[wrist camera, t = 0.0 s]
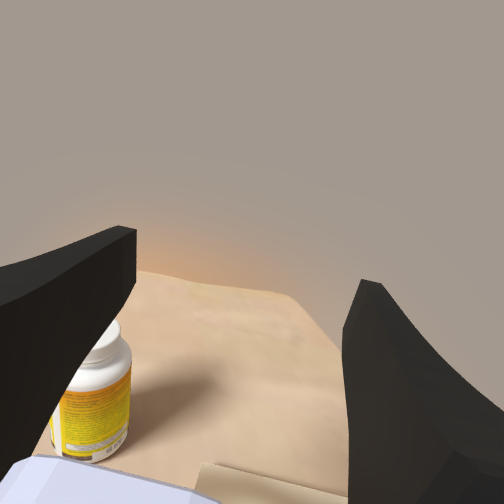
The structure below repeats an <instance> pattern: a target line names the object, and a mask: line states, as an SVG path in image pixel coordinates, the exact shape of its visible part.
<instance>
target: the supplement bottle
mask: <svg viewBox="0 0 504 504" xmlns="http://www.w3.org/2000/svg"><path fill="white" fill-rule="evenodd" d="M131 365H132V355H131V350H130V347H129V345H128V344H127V342H126V341H125V340H124V339H123V338H121V327H120V324H119V323H118V321H117V320H116V319H114V320H113V321H112V323H111V324H110V326H109V327H108V328H107V330H106V331H105V332H104V334H103V335H102V336H101V338H100V339H99V340H98V342H97V343H96V345H95V346H94V347H93V349H92V350H91V351H90V353H89V354H88V355H87V357H86V358H85V360H84V361H83V363H82V364H81V366H80V367H79V369H78V370H77V372H76V374H75V375H74V377H73V379H72V381H71V382H70V384H69V386H68V387H67V389H66V391H65V393H64V394H63V396H62V398H61V400H60V402H59V403H58V405H57V407H56V409H55V411H54V413H53V414H52V416H51V418H50V420H49V426H50V436H51V443H52V446H53V448H54V450H55V452H56V453H57V454H58V455H59V456H62V457H67V458H71V459H75V460H79V461H83V462H87V463H94V462H98V461H100V460H103V459H105V458H107V457H108V456H110V455H111V454H113V453H114V452H115V451H116V450H117V449H118V448H119V447H120V446H121V445H122V443H123V442H124V440H125V438H126V436H127V433H128V428H129V411H130V389H131Z"/></svg>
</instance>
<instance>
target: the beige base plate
mask: <svg viewBox="0 0 504 504" xmlns="http://www.w3.org/2000/svg"><path fill="white" fill-rule="evenodd" d="M195 491H198V492H200V493H203V494H205V495H208V496H210V497H212V498H215V499H217V500H219V501H221V502H222V503H223V504H348V498H347V497H343V496H339V495H335V494H331V493H327V492H323V491H319V490H315V489H311V488H307V487H303V486H299V485H295V484H291V483H287V482H283V481H279V480H275V479H271V478H267V477H263V476H259V475H255V474H251V473H247V472H243V471H239V470H235V469H231V468H227V467H223V466H219V465H215V464H211V463H207V462H202V465H201V469H200V472H199V476H198V479H197V483H196V487H195Z"/></svg>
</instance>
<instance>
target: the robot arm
mask: <svg viewBox="0 0 504 504" xmlns="http://www.w3.org/2000/svg"><path fill="white" fill-rule="evenodd" d="M136 241H137V230H136V229H132V228H128V227H123V226H115V227H112V228H109V229H106V230H104V231H101V232H99V233H96V234H94V235H91V236H89V237H86V238H84V239H81V240H79V241H77V242H74V243H72V244H69V245H67V246H64V247H62V248H59V249H56V250H53V251H50V252H48V253H45V254H42V255H39V256H36V257H33V258H30V259H27V260H24V261H20V262H17V263H14V264H10V265H6V266H2V267H0V504H223V503H222V502H221V501H219V500H217V499H215V498H212V497H210V496H208V495H205V494H203V493H200V492H198V491H195V490H193V489H189V488H185V487H181V486H177V485H173V484H170V483H166V482H162V481H158V480H154V479H150V478H146V477H142V476H138V475H134V474H130V473H126V472H122V471H119V470H115V469H111V468H107V467H103V466H99V465H95V464H91V463H87V462H83V461H79V460H75V459H71V458H67V457H62V456H52V455H41V454H38V455H35V456H31V455H32V453H33V451H34V449H35V447H36V445H37V443H38V441H39V439H40V437H41V435H42V433H43V431H44V429H45V427H46V425H47V424H48V422H49V420H50V418H51V416H52V414H53V413H54V411H55V409H56V407H57V405H58V403H59V402H60V400H61V398H62V396H63V394H64V393H65V391H66V389H67V387H68V386H69V384H70V382H71V381H72V379H73V377H74V375H75V374H76V372H77V370H78V369H79V367H80V366H81V364H82V363H83V361H84V360H85V358H86V357H87V355H88V354H89V353H90V351H91V350H92V349H93V347H94V346H95V345H96V343H97V342H98V340H99V339H100V338H101V336H102V335H103V334H104V332H105V331H106V330H107V328H108V327H109V326H110V324H111V323H112V321H113V320H114V319H115V317H116V316H117V314H118V313H119V312H120V310H121V309H122V307H123V306H124V304H125V302H126V300H127V299H128V297H129V295H130V293H131V291H132V289H133V287H134V285H135V283H136V245H137V244H136V243H137V242H136ZM342 336H343V337H342V366H343V376H344V386H345V396H346V406H347V416H348V429H349V476H348V504H504V411H502V410H501V409H500V408H499V407H497V406H496V405H495V404H493V403H492V402H491V401H490V400H489V399H487V398H486V397H485V396H484V395H482V394H481V393H480V392H479V391H478V390H476V389H475V388H474V387H473V386H472V385H471V384H470V383H468V382H467V381H466V380H465V379H464V378H463V377H462V376H461V375H460V374H459V373H457V372H456V371H455V370H454V369H453V368H452V367H451V366H450V365H449V364H448V363H447V362H446V361H445V360H444V359H443V358H442V357H441V356H440V355H439V354H438V353H437V352H436V351H435V350H434V348H433V347H432V346H431V345H430V344H429V343H428V342H427V341H426V340H425V339H424V337H423V336H422V335H421V334H420V332H419V331H418V330H417V329H416V328H415V327H414V325H413V324H412V323H411V321H410V320H409V319H408V318H407V317H406V315H405V314H404V313H403V311H402V310H401V309H400V307H399V306H398V305H397V303H396V302H395V301H394V299H393V298H392V297H391V295H390V294H389V293H388V291H387V290H386V289H385V288H384V287H383V285H382V284H381V283H377V282H372V281H368V280H364V279H361V281H360V284H359V286H358V289H357V292H356V295H355V297H354V300H353V303H352V306H351V308H350V311H349V313H348V316H347V319H346V322H345V324H344V327H343V335H342Z"/></svg>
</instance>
